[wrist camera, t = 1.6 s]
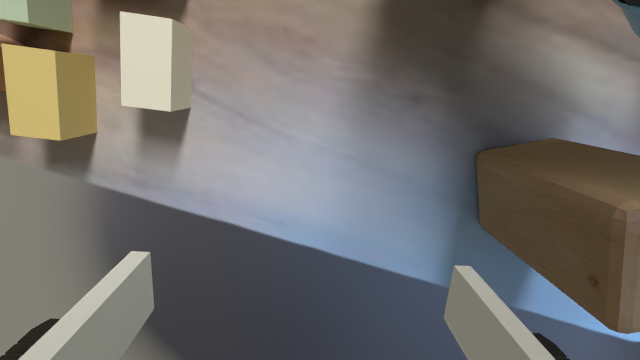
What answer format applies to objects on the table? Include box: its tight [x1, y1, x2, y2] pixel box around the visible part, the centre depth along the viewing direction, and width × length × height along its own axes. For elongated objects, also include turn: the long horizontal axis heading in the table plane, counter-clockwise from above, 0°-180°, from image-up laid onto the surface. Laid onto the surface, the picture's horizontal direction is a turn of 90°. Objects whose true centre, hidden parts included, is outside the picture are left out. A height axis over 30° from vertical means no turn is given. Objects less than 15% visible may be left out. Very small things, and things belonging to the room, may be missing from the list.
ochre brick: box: [1, 43, 97, 141], centre depth 34 cm, size 8×4×6 cm, turn 172°
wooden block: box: [476, 138, 640, 334], centre depth 32 cm, size 10×10×20 cm
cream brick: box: [120, 11, 193, 112], centre depth 33 cm, size 8×4×6 cm, turn 172°
